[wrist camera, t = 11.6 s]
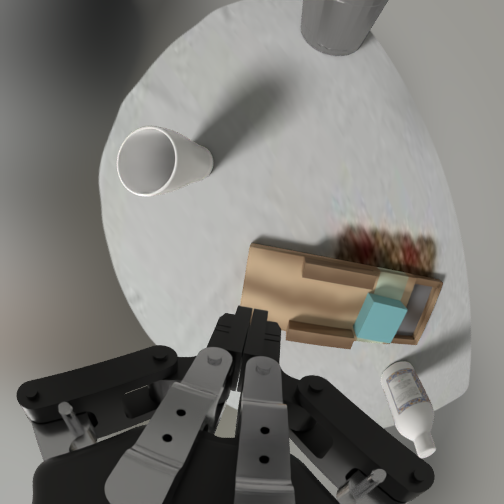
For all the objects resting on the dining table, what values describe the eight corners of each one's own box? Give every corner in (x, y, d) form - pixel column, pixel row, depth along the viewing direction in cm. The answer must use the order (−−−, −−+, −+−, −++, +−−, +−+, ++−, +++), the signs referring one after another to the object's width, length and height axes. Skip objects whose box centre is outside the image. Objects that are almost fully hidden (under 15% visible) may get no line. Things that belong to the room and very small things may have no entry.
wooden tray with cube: (251, 242, 39) (247, 252, 34) (439, 279, 37) (451, 290, 32) (239, 315, 42) (234, 330, 38) (413, 340, 40) (422, 354, 36)
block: (368, 292, 37) (373, 301, 34) (400, 300, 36) (407, 309, 34) (352, 326, 38) (357, 337, 36) (384, 333, 38) (390, 343, 35)
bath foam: (405, 384, 43) (435, 459, 24) (375, 387, 44) (399, 469, 25) (416, 358, 41) (455, 435, 22) (385, 361, 42) (418, 446, 23)
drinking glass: (182, 135, 35) (126, 119, 21) (226, 147, 35) (189, 133, 21) (168, 179, 37) (108, 186, 23) (210, 193, 37) (166, 207, 23)
